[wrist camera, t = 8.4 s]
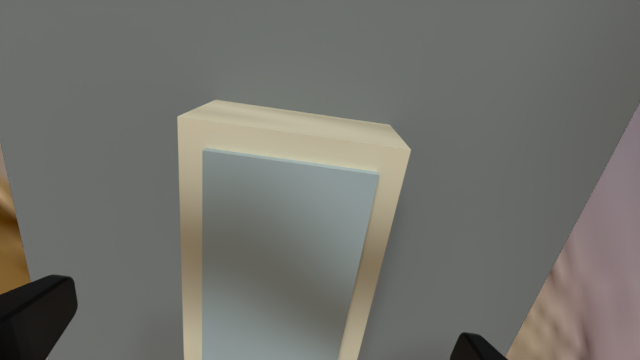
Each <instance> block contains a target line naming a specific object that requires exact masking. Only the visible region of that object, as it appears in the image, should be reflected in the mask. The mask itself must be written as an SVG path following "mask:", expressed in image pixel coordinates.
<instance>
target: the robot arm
mask: <svg viewBox="0 0 640 360" xmlns="http://www.w3.org/2000/svg"><path fill="white" fill-rule="evenodd" d="M77 308H78V301H77V295H76V288H75V282H74V280H73V278H72V277H70V276H64V275H56V274H52V275H48V276H46V277H43V278H41V279H38V280H36V281H33V282H31V283H28V284H26V285H23V286H21V287H18V288H16V289H13V290H11V291H8V292H6V293H3V294H1V295H0V360H46V358H47V357H48V355H49V354H50V352H51V351H52V349H53V348H54V346H55V345H56V343H57V342H58V340H59V339H60V337H61V336H62V334H63V333H64V331H65V329H66V328H67V326H68V325H69V323H70V322H71V320H72V319H73V317H74V316H75V314H76V311H77ZM450 360H508V359H506V358H505V357H504V356H503V355H502V354H501V353H500V352H499V351H498V350H497V349H496V348H494V347H493V346H492V345H491V344H490V343H489V342H488V341H487V340H486V339H485V338H484V337H482V336H481V335H479V334H475V333H468V332H462V333H461V334H460V335H459V337H458V339H457V341H456V344H455V346H454V348H453V351H452V353H451V355H450Z"/></svg>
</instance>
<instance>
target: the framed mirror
mask: <svg viewBox="0 0 640 360" xmlns="http://www.w3.org/2000/svg"><path fill="white" fill-rule="evenodd" d="M177 124H178V161H179V197H180V233H181V270H182V306H183V342H184V360H357V358H358V354H359V351H360V347H361V343H362V339H363V335H364V331H365V327H366V323H367V319H368V315H369V312H370V308H371V304H372V300H373V296H374V292H375V288H376V284H377V280H378V277H379V273H380V269H381V265H382V261H383V257H384V253H385V249H386V245H387V242H388V238H389V234H390V230H391V226H392V222H393V218H394V214H395V210H396V206H397V203H398V199H399V195H400V191H401V187H402V183H403V179H404V175H405V171H406V168H407V164H408V160H409V156H410V152H411V149H410V148H409V147H408V145H407V144H406V143H405V142H404V141H403V140H402V138H401V137H400V136H399V135H398V134H397V133H396V131H395V130H394V129H393V128H392V127H391V125H388V124H381V123H374V122H367V121H360V120H353V119H346V118H339V117H332V116H325V115H318V114H312V113H305V112H298V111H291V110H284V109H277V108H270V107H263V106H256V105H249V104H242V103H236V102H229V101H222V100H214V101H212V102H209V103H207V104H205V105H202V106H200V107H198V108H195V109H193V110H191V111H189V112H186V113H184V114H182V115H179V116H177Z"/></svg>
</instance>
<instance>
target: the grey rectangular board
mask: <svg viewBox="0 0 640 360" xmlns="http://www.w3.org/2000/svg"><path fill="white" fill-rule="evenodd" d="M214 100H222V101H229V102H236V103H242V104H249V105H256V106H263V107H270V108H277V109H284V110H291V111H298V112H305V113H312V114H318V115H325V116H332V117H339V118H346V119H353V120H360V121H367V122H374V123H381V124H388V125H391V127H392V128H393V129H394V130H395V131H396V133H397V134H398V135H399V136H400V137H401V138H402V140H403V141H404V142H405V143H406V144H407V145H408V147H409V148H410V149H411V152H410V156H409V160H408V164H407V168H406V171H405V175H404V179H403V183H402V187H401V191H400V195H399V199H398V203H397V206H396V210H395V214H394V218H393V222H392V226H391V230H390V234H389V238H388V242H387V245H386V249H385V253H384V257H383V261H382V265H381V269H380V273H379V277H378V280H377V284H376V288H375V292H374V296H373V300H372V304H371V308H370V312H369V315H368V319H367V323H366V327H365V331H364V335H363V339H362V343H361V347H360V351H359V354H358V358H357V360H450V355H451V353H452V351H453V348H454V346H455V344H456V341H457V339H458V337H459V335H460V334H461V333H462V332H468V333H475V334H479V335H481V336H482V337H484V338H485V339H486V340H487V341H488V342H489V343H490V344H491V345H492V346H493V347H494V348H496V349H497V350H498V351H499V352H500V353H501V354H502V355H503V356H504V357H505V356H506V354H507V352H508V350H509V348H510V347H511V345H512V343H513V341H514V339H515V337H516V335H517V333H518V331H519V330H520V328H521V326H522V324H523V322H524V320H525V318H526V316H527V314H528V313H529V311H530V309H531V307H532V305H533V303H534V301H535V299H536V297H537V296H538V294H539V292H540V290H541V288H542V286H543V284H544V282H545V280H546V279H547V277H548V275H549V273H550V271H551V269H552V267H553V265H554V263H555V262H556V260H557V258H558V256H559V254H560V252H561V250H562V248H563V246H564V244H565V243H566V241H567V239H568V237H569V235H570V233H571V231H572V229H573V227H574V226H575V224H576V222H577V220H578V218H579V216H580V214H581V212H582V210H583V209H584V207H585V205H586V203H587V201H588V199H589V197H590V195H591V193H592V192H593V190H594V188H595V186H596V184H597V182H598V180H599V178H600V176H601V175H602V173H603V171H604V169H605V167H606V165H607V163H608V161H609V159H610V158H611V156H612V154H613V152H614V150H615V148H616V146H617V144H618V142H619V141H620V139H621V137H622V135H623V133H624V131H625V129H626V127H627V125H628V124H629V122H630V120H631V118H632V116H633V114H634V112H635V110H636V108H637V107H638V105H639V103H640V0H0V143H1V148H2V152H3V157H4V161H5V166H6V170H7V175H8V180H9V184H10V189H11V193H12V198H13V202H14V207H15V211H16V216H17V221H18V225H19V230H20V234H21V239H22V243H23V248H24V252H25V257H26V261H27V266H28V271H29V275H30V280H31V282H33V281H36V280H38V279H41V278H43V277H46V276H48V275H52V274H56V275H64V276H70V277H72V278H73V280H74V282H75V288H76V295H77V301H78V308H77V311H76V314H75V316H74V317H73V319H72V320H71V322H70V323H69V325H68V326H67V328H66V329H65V331H64V333H63V334H62V336H61V337H60V339H59V340H58V342H57V343H56V345H55V346H54V348H53V349H52V351H51V352H50V354H49V355H48V360H184V342H183V306H182V270H181V233H180V197H179V161H178V124H177V116H179V115H182V114H184V113H186V112H189V111H191V110H193V109H195V108H198V107H200V106H202V105H205V104H207V103H209V102H212V101H214Z"/></svg>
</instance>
